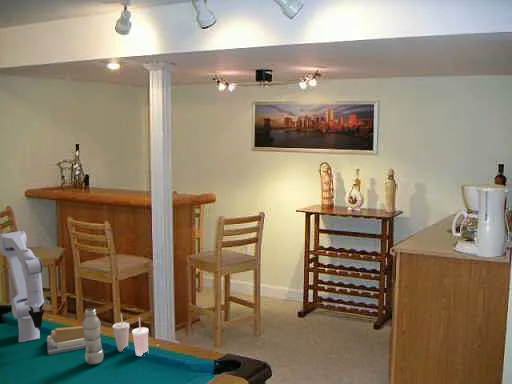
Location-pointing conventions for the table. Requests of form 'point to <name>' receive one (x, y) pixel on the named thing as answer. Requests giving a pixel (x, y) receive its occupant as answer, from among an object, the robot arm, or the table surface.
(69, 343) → the stand
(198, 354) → the table surface
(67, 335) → the wooden c-shaped bracket
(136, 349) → the beverage cup
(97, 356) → the plastic bottle
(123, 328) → the smoothie
